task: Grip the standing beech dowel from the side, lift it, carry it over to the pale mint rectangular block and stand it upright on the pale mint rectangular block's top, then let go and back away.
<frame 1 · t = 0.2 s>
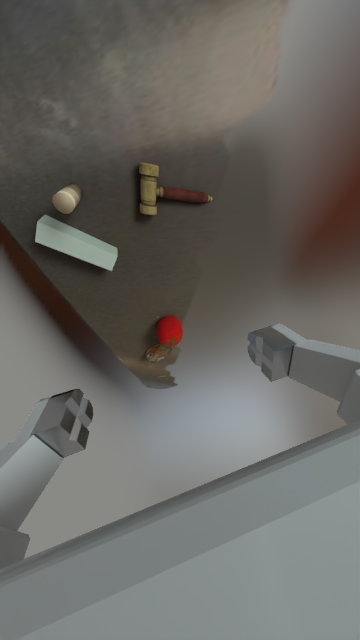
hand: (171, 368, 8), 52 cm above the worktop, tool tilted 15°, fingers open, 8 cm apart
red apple: (166, 320, 80), on the worktop
tin: (157, 345, 91), on the worktop
gavel: (176, 193, 47), on the worktop
pale mint rectangular block: (82, 241, 48), on the worktop
dowel: (75, 191, 40), on the worktop
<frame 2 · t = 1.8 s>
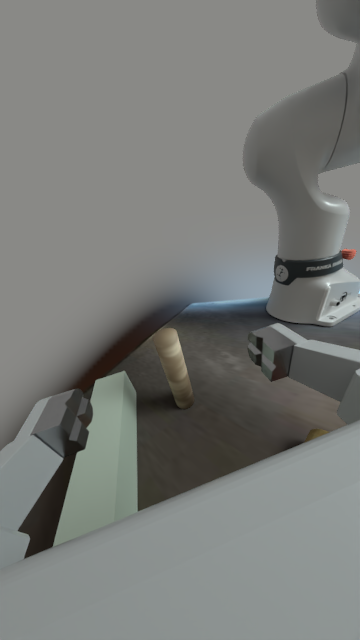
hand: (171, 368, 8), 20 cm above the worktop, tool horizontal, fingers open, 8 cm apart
pale mint rectangular block: (119, 450, 24), on the worktop
dowel: (185, 399, 29), on the worktop
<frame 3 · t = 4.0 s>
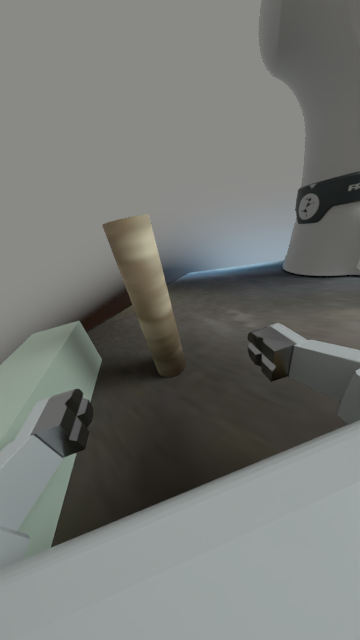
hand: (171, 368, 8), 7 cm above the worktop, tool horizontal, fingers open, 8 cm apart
pale mint rectangular block: (52, 440, 14), on the worktop
dowel: (171, 365, 18), on the worktop
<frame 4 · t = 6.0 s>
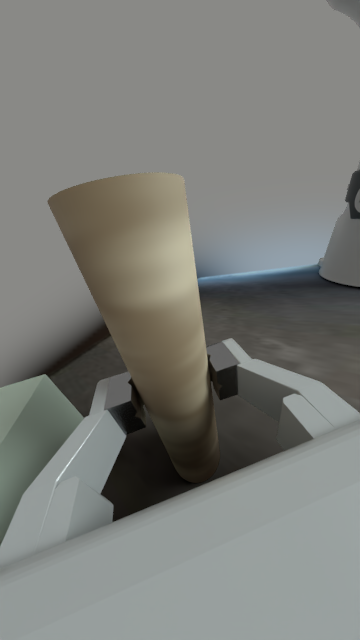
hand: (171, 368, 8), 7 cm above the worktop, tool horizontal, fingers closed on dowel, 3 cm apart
dowel: (195, 450, 11), on the worktop, touching gripper
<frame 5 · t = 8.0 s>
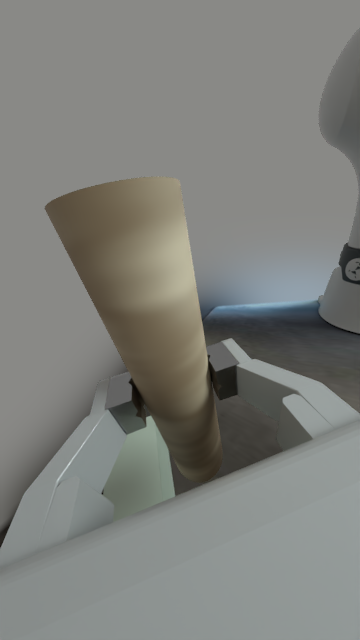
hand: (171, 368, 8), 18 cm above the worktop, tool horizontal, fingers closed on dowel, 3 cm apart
pale mint rectangular block: (155, 562, 14), on the worktop
dowel: (198, 450, 11), point 11 cm above the worktop, touching gripper
when the fingers open (15 cm above the worktop, at t = 9.4 s): dowel drops 1 cm, resting on pale mint rectangular block.
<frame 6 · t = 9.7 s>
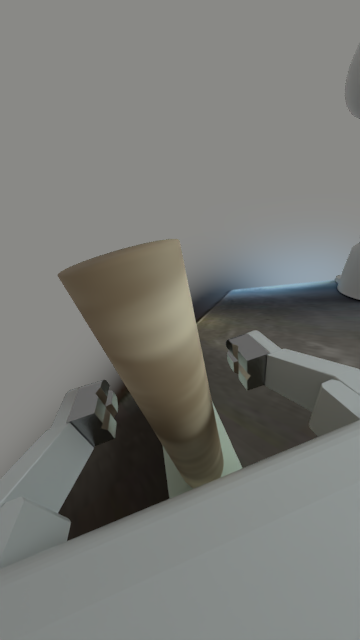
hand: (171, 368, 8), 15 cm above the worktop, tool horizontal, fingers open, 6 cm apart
pale mint rectangular block: (211, 494, 14), on the worktop
dowel: (200, 458, 12), point 6 cm above the worktop, touching pale mint rectangular block
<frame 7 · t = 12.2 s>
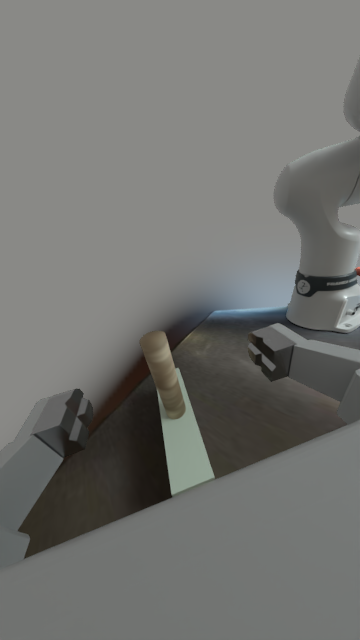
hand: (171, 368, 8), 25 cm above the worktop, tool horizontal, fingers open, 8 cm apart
pale mint rectangular block: (183, 432, 29), on the worktop
dowel: (175, 409, 27), point 6 cm above the worktop, touching pale mint rectangular block
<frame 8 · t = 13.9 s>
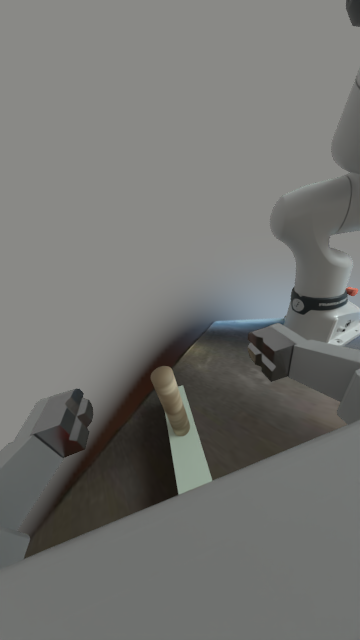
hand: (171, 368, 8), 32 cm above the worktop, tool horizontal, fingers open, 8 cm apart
pale mint rectangular block: (187, 444, 33), on the worktop
dowel: (181, 426, 31), point 6 cm above the worktop, touching pale mint rectangular block
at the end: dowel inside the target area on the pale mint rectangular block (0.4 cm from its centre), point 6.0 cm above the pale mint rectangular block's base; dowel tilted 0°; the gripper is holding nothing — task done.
